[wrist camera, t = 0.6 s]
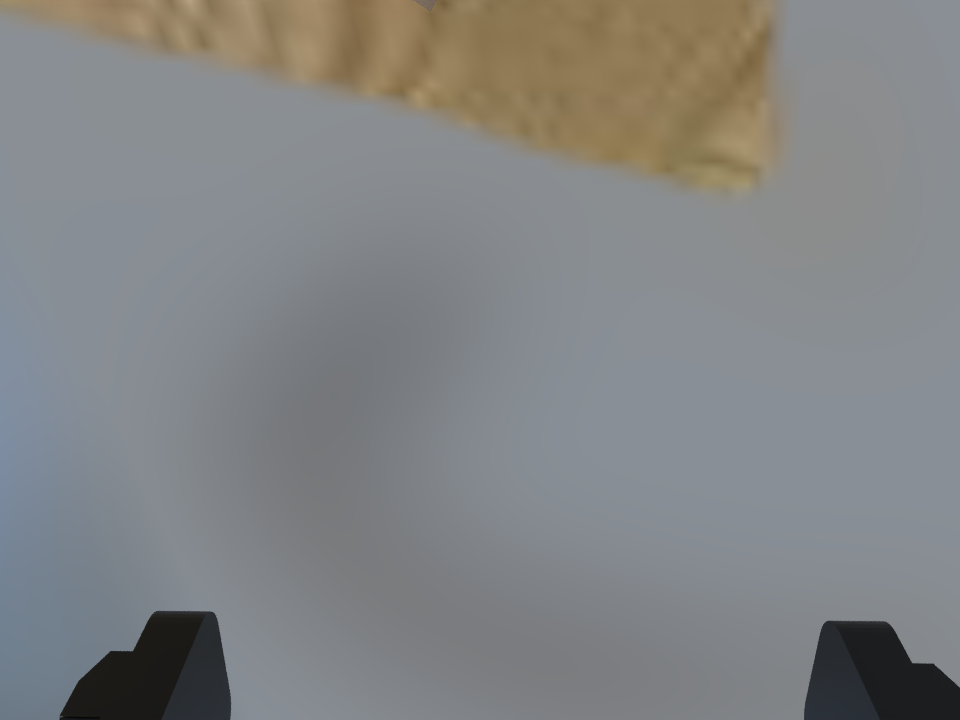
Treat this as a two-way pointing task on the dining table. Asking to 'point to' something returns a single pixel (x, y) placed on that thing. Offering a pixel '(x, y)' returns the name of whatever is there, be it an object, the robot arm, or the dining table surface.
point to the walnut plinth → (426, 3)
